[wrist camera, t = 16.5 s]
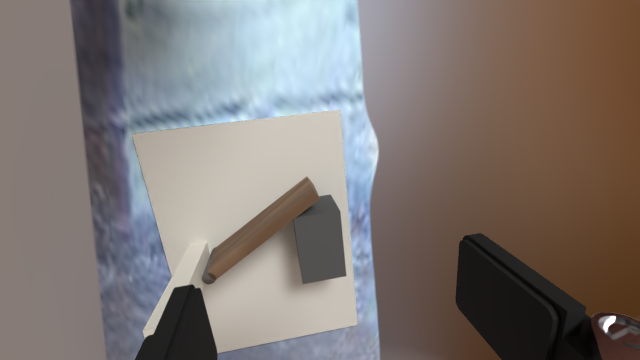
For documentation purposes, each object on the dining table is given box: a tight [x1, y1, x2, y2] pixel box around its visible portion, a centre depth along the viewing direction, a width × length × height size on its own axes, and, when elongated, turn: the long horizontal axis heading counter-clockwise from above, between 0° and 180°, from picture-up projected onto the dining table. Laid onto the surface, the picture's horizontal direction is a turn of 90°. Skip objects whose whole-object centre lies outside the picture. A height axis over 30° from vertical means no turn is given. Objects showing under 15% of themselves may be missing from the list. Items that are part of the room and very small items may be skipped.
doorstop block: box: [293, 194, 346, 284], centre depth 35 cm, size 8×5×6 cm, turn 6°
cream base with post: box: [132, 110, 357, 353], centre depth 31 cm, size 30×22×15 cm
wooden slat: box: [202, 177, 320, 284], centre depth 34 cm, size 1×15×6 cm, turn 127°
